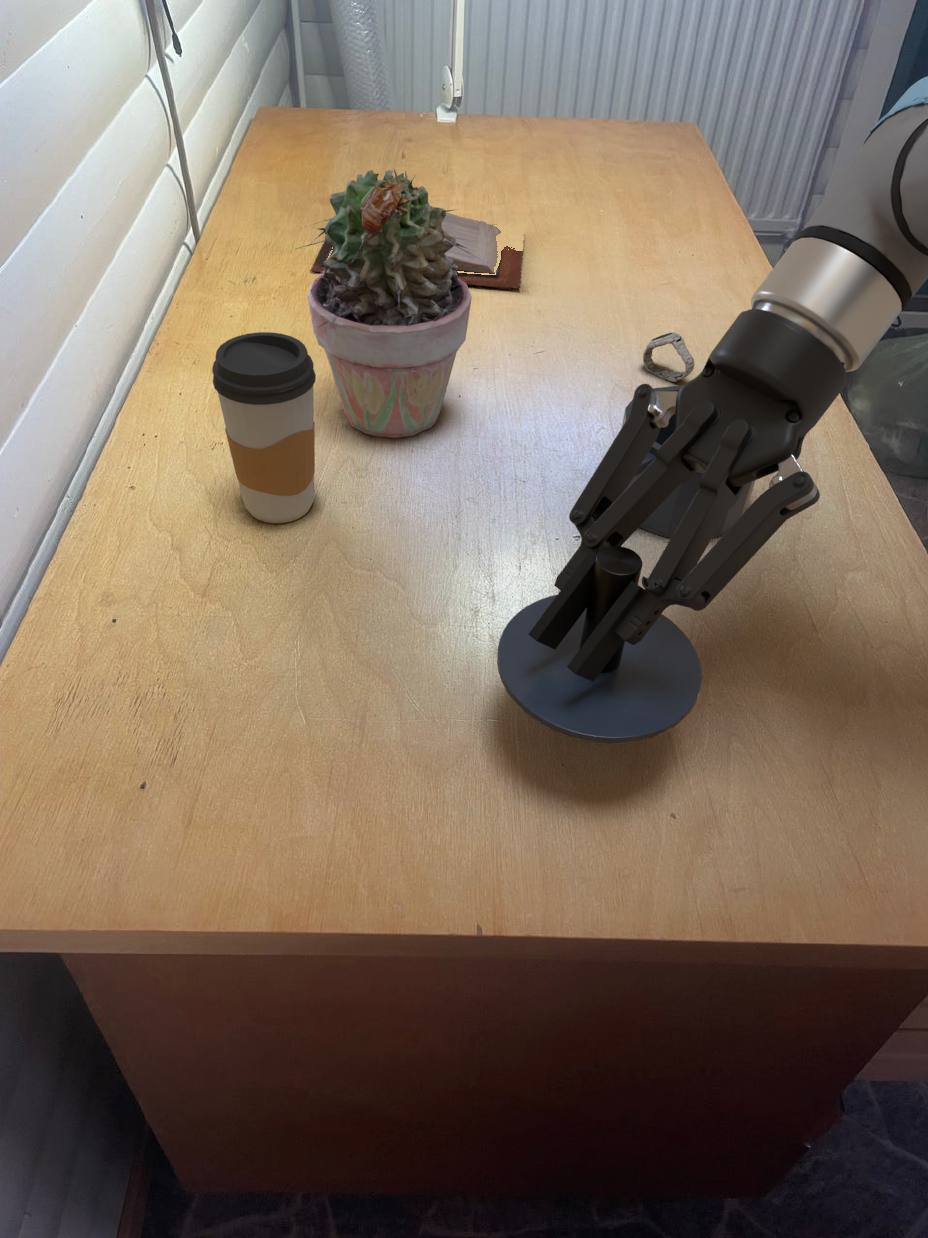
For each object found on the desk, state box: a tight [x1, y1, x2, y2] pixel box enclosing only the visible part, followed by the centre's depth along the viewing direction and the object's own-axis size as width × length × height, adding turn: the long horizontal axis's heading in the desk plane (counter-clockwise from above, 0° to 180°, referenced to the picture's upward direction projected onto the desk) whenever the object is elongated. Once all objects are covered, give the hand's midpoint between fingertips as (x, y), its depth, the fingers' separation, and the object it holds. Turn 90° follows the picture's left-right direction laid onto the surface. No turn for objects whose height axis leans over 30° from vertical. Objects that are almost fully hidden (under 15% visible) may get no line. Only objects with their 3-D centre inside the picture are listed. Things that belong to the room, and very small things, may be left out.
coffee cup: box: [211, 331, 317, 524], centre depth 79 cm, size 8×8×15 cm
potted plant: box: [295, 168, 481, 439], centre depth 88 cm, size 18×20×25 cm
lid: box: [496, 546, 703, 745], centre depth 58 cm, size 14×14×10 cm
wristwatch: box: [642, 332, 695, 383], centre depth 103 cm, size 4×6×5 cm, turn 45°
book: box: [309, 212, 524, 291], centre depth 125 cm, size 20×28×4 cm
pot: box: [621, 385, 756, 539], centre depth 84 cm, size 13×18×8 cm
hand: (561, 657), depth 57 cm, fingers closed on lid, 3 cm apart
